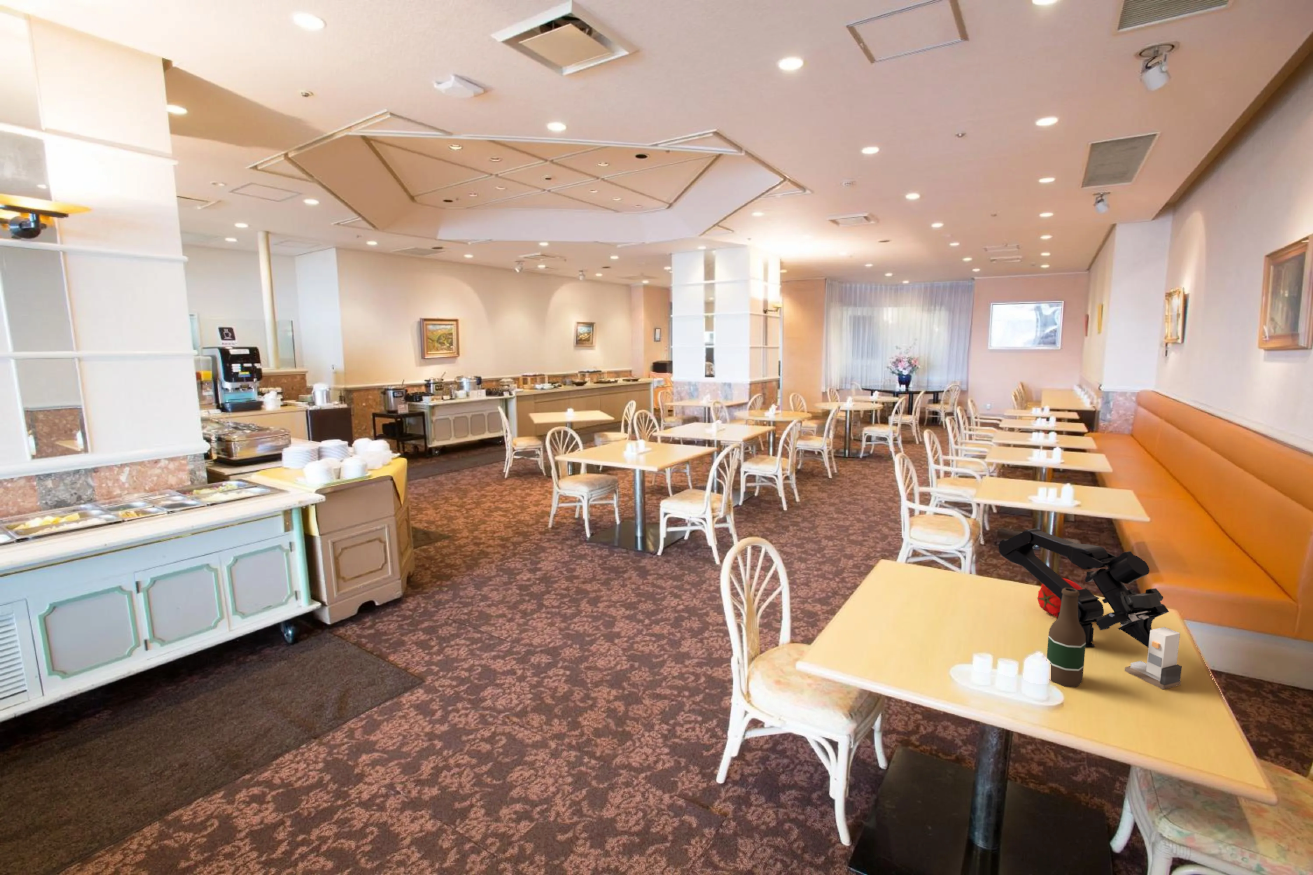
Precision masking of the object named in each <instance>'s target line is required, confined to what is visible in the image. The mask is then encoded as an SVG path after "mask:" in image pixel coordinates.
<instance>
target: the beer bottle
mask: <svg viewBox="0 0 1313 875" xmlns="http://www.w3.org/2000/svg"><path fill="white" fill-rule="evenodd" d="M1061 592H1062V593H1063V595H1062V601H1061V608H1060V613H1059V617H1057V619H1055V620H1054V622H1052V624H1051V626H1050V627H1049V630H1048V636H1047V637H1048V638H1047V648H1046V650H1047V651H1046V660H1047V659H1048V660H1049V661H1050V664H1051V680H1050V682H1051V683H1054V684H1057V685H1060V686H1063V687H1067V688H1077V687H1078V686H1079V685H1081V684H1082V682H1083V678H1084V670H1085V669H1084V667H1085V657H1086V656H1085V654H1086V647H1085V646H1086V635H1085V632H1084V629H1083V628H1082V626H1081V625H1080V623H1079V619H1078V596H1079V595H1080V594H1079V591H1077V590H1076V589H1073V588H1064V589H1062V591H1061Z"/></svg>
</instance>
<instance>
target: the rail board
mask: <svg viewBox="0 0 1313 875" xmlns="http://www.w3.org/2000/svg"><path fill="white" fill-rule="evenodd" d="M1146 667H1147V662H1144V661H1143V660H1138V661H1134V662H1130V665H1129V666H1125V667H1124V672H1126V673H1128V674H1130V675H1132V676H1134V677H1137V678H1138V679H1141V680H1143V681H1145V682H1147V683H1149V684H1151V685H1153V686H1154V687H1158V688H1160V689H1161V690H1166V689H1170V688H1173V687H1177V686H1181V685H1182V684H1181V682H1182V681H1181V677H1182V665H1179V664H1178V663H1177V665H1173V666H1169V667H1165V668H1162V669H1161V678H1159V677H1157V676H1155V675H1153V674H1151V673H1149V672H1147V671H1146Z"/></svg>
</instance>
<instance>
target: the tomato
mask: <svg viewBox="0 0 1313 875" xmlns="http://www.w3.org/2000/svg"><path fill="white" fill-rule="evenodd" d="M1062 578H1063V579H1064V580H1065V581H1066V582H1067V583H1069V584H1070V585H1071V586H1072V587H1073V588H1075V589H1077V590H1080V589H1084V588H1082V587H1081V585H1080V584H1078V583H1076V582H1074V581H1072V580H1071V579H1068V578H1064V577H1062ZM1037 602H1038V604H1039V607H1040V608H1041V610H1042V611H1044V612H1046V613H1048V614H1051V615H1052V616H1053V617H1055V618H1058V612H1060V608H1061V600H1060V599H1059V598H1058V597H1057V596H1056V595H1055V594H1054V593H1053V592H1052V591H1050V590H1049V589H1048V588H1047V587H1046V586H1045V585H1044V584H1042V583H1041V585H1040V589H1039V590H1038V592H1037Z"/></svg>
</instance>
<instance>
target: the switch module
mask: <svg viewBox="0 0 1313 875" xmlns="http://www.w3.org/2000/svg"><path fill="white" fill-rule="evenodd" d="M1180 635H1181V632H1178V631H1176V630H1173V629H1171V628H1168V627H1166V626H1163V627H1158V628H1153V629H1152V630H1150V638H1149V647H1147V648H1148V650H1147V659H1146V663H1147V667H1146V671H1147V672H1149V673H1151V674H1153V675H1155V676H1157V677H1159V678H1161V669H1162V668H1165V667H1169V666H1173V665H1177V664H1178V655H1179V647H1180V646H1179V645H1180V638H1181V637H1180Z"/></svg>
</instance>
